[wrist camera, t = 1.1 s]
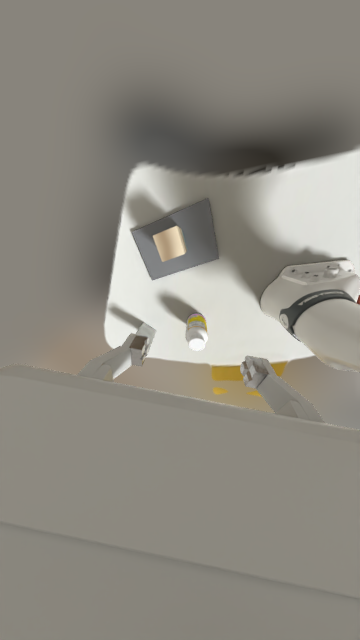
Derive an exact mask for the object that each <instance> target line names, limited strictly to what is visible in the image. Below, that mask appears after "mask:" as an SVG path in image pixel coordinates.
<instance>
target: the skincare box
mask: <svg viewBox="0 0 360 640" xmlns="http://www.w3.org/2000/svg"><path fill="white" fill-rule="evenodd" d="M155 333H156V330H154V329H153V328H151V327H150V326H148V325H147V324H145V323H143V324H142V325H141V326H140V327H139V329H138V331H137V332H136V334H137V335H142V336H147V337H149V342H148V344H149V349H150V346H151V344H152V341H153V338H154V336H155ZM148 352H149V350H148Z"/></svg>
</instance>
